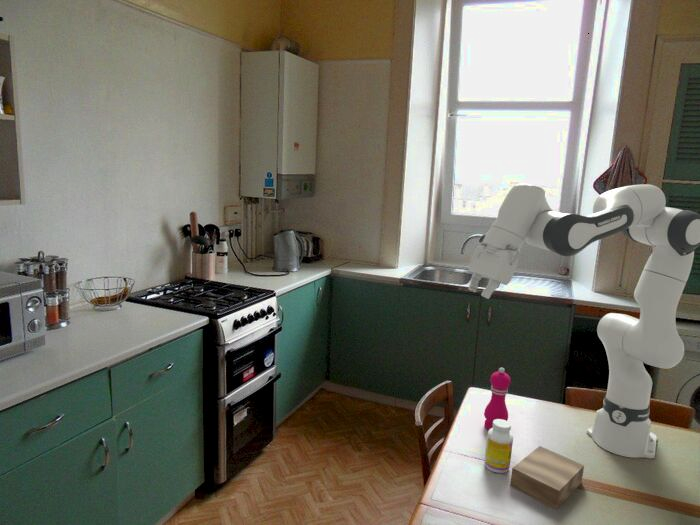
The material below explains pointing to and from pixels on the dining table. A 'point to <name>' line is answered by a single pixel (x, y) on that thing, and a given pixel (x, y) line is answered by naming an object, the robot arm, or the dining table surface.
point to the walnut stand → (547, 476)
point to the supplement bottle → (499, 446)
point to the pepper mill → (497, 398)
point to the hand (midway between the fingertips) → (477, 294)
